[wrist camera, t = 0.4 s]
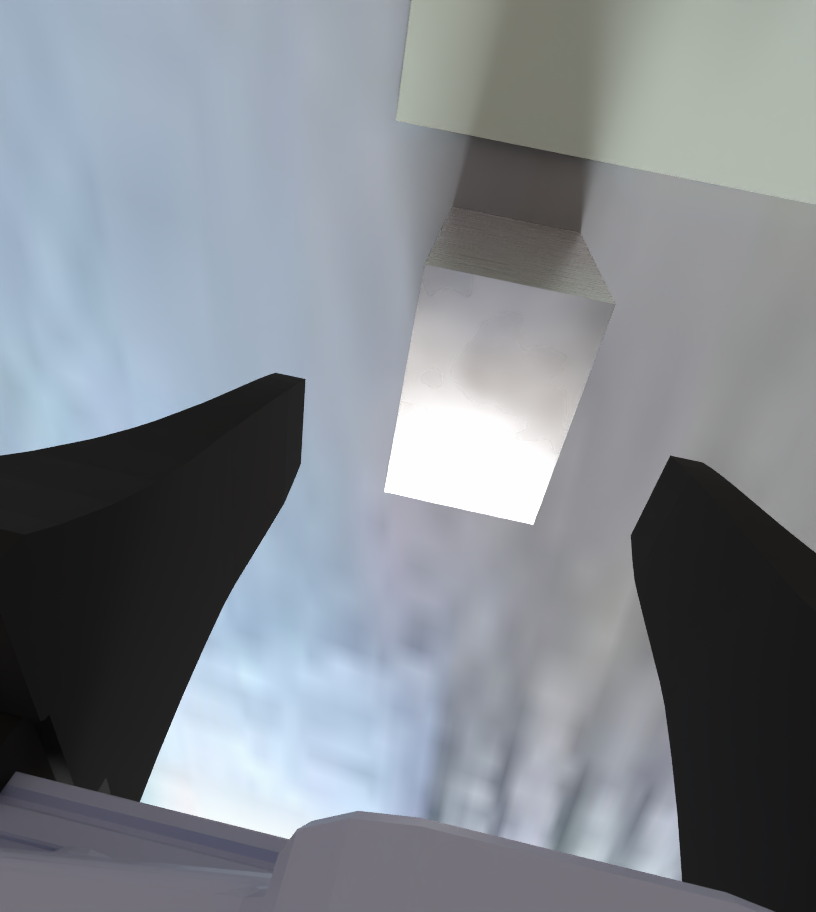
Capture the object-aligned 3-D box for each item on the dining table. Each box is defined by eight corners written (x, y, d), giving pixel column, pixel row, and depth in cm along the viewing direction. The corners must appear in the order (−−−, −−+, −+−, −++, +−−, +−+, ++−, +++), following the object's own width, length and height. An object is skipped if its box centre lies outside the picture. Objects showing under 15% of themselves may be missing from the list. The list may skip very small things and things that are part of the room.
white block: (580, 232, 17) (615, 304, 12) (526, 402, 21) (532, 524, 15) (452, 205, 18) (424, 264, 12) (419, 379, 21) (384, 491, 15)
